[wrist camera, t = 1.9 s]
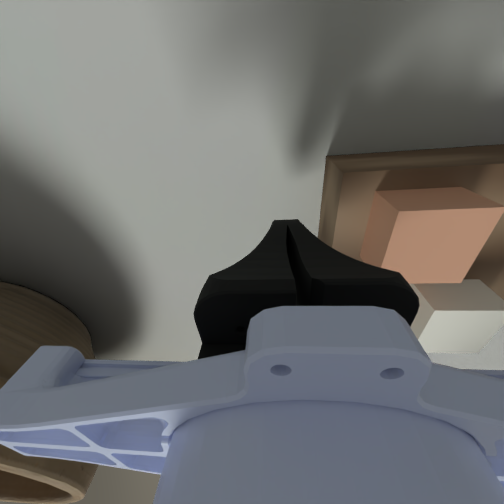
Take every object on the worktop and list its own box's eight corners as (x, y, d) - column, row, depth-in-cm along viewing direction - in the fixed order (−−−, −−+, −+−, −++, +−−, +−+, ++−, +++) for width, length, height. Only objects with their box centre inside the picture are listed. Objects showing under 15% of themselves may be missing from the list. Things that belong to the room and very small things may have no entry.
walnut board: (450, 291, 20) (487, 330, 16) (312, 292, 21) (319, 328, 17) (538, 141, 13) (630, 155, 10) (326, 156, 14) (343, 172, 11)
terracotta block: (430, 254, 13) (460, 282, 11) (359, 255, 13) (375, 283, 11) (461, 186, 11) (506, 207, 9) (375, 191, 11) (398, 211, 9)
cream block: (451, 321, 16) (478, 353, 14) (393, 320, 16) (410, 352, 14) (479, 279, 14) (515, 310, 12) (410, 280, 14) (434, 310, 12)
